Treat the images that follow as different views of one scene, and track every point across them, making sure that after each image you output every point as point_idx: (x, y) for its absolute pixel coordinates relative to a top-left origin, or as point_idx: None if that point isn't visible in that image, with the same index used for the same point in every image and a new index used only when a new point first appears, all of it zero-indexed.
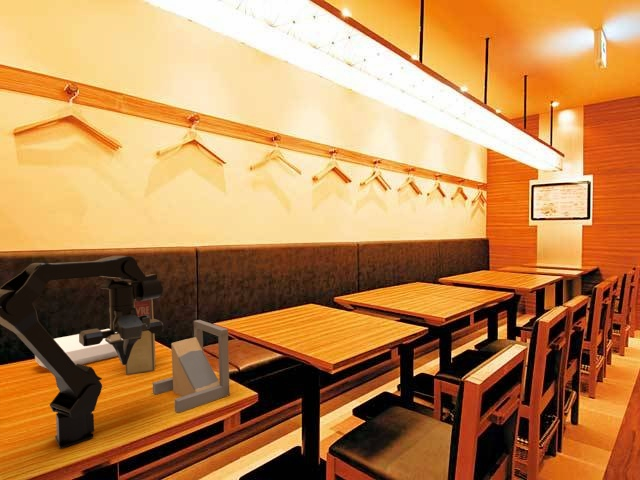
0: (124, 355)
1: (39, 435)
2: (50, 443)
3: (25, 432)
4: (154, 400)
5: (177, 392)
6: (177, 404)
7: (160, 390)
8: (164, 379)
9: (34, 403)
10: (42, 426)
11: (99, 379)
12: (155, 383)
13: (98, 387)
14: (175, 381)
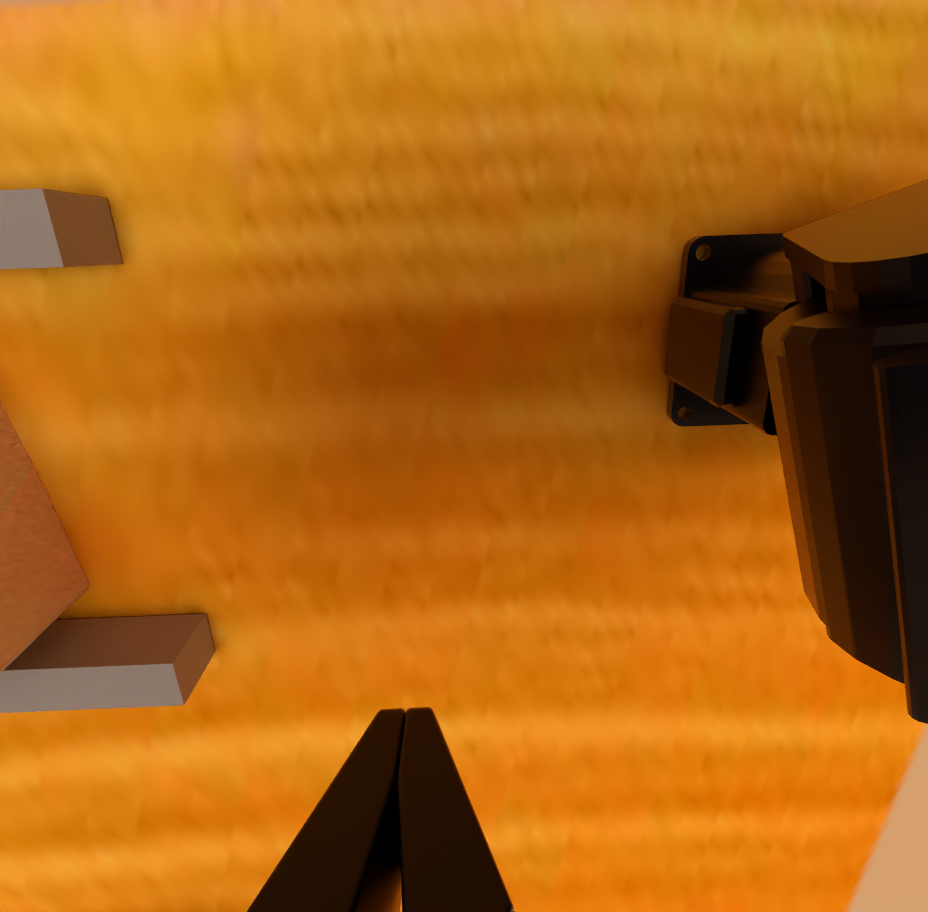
0: (384, 891)
1: None
2: None
3: None
4: (227, 534)
5: (57, 537)
6: (64, 196)
7: (162, 627)
8: (95, 706)
9: (751, 880)
10: None
11: (913, 353)
12: (167, 678)
13: (894, 254)
14: (9, 599)
